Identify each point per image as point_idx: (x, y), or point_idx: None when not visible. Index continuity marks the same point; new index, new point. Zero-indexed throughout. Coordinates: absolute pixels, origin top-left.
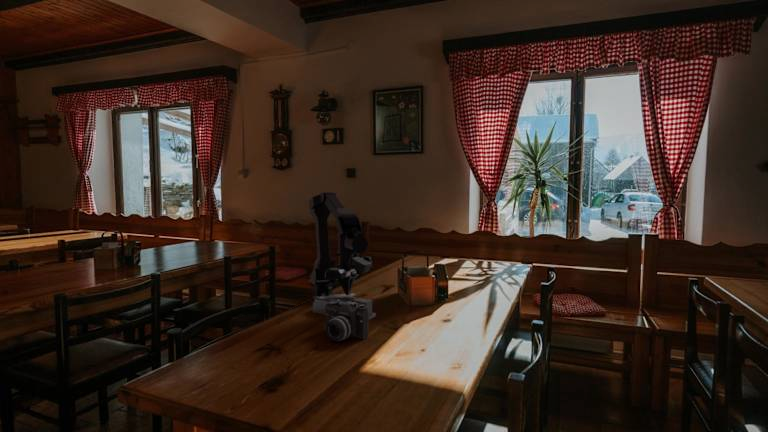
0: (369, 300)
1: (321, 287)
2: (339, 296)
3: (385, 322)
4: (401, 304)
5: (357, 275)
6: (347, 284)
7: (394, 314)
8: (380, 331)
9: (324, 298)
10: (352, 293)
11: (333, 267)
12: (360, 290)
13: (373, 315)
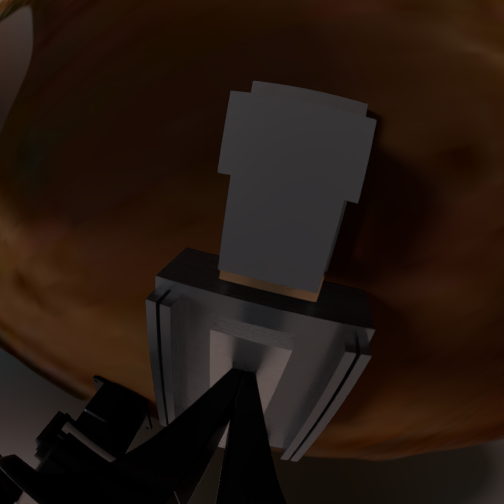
0: (268, 110)
1: (121, 440)
2: (266, 406)
3: (362, 5)
4: (35, 84)
5: (47, 482)
6: (273, 479)
7: (179, 10)
8: (496, 34)
9: None
10: (214, 347)
11: (48, 473)
12: (8, 302)
13: (295, 88)
